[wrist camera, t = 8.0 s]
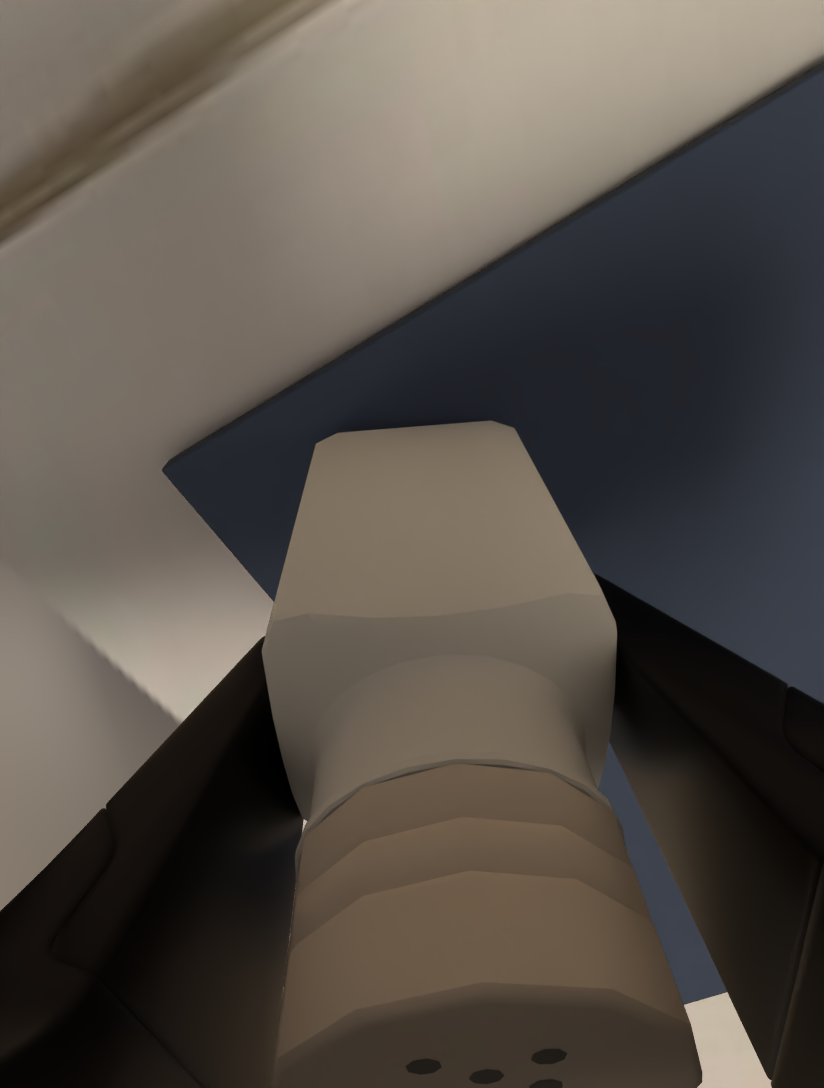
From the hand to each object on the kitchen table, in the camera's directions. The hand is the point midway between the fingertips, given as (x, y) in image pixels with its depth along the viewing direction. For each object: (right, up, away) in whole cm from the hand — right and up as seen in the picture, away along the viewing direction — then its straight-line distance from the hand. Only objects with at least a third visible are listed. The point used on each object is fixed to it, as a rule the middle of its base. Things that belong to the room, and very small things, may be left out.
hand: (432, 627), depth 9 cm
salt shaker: (0, +2, +3) cm, 4 cm away
